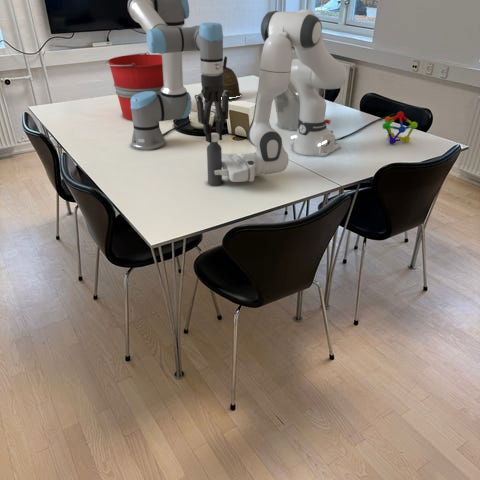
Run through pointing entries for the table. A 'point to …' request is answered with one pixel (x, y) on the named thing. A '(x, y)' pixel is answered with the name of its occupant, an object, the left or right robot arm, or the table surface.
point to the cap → (214, 137)
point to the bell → (230, 80)
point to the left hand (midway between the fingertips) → (213, 140)
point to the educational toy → (398, 128)
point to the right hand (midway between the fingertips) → (212, 168)
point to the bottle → (214, 163)
